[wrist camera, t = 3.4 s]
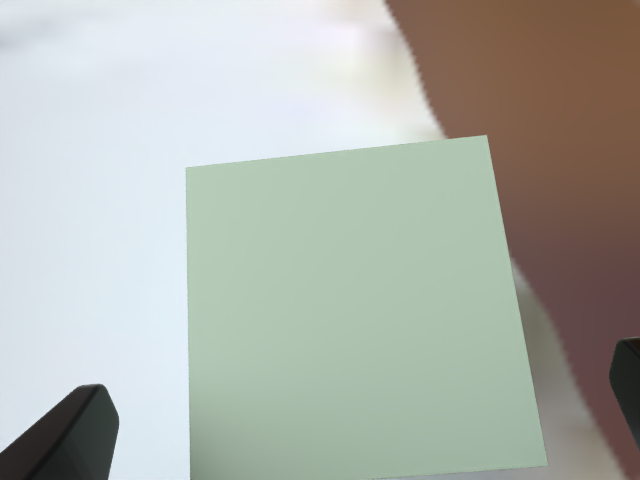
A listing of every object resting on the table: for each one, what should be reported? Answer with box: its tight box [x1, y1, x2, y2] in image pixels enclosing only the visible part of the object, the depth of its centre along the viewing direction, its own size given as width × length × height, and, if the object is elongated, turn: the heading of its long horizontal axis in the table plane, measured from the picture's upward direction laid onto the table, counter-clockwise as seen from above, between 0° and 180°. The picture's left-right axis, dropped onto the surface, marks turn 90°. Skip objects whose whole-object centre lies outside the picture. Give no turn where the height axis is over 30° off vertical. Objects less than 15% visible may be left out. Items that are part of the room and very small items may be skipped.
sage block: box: [186, 135, 548, 480], centre depth 14 cm, size 6×6×9 cm
